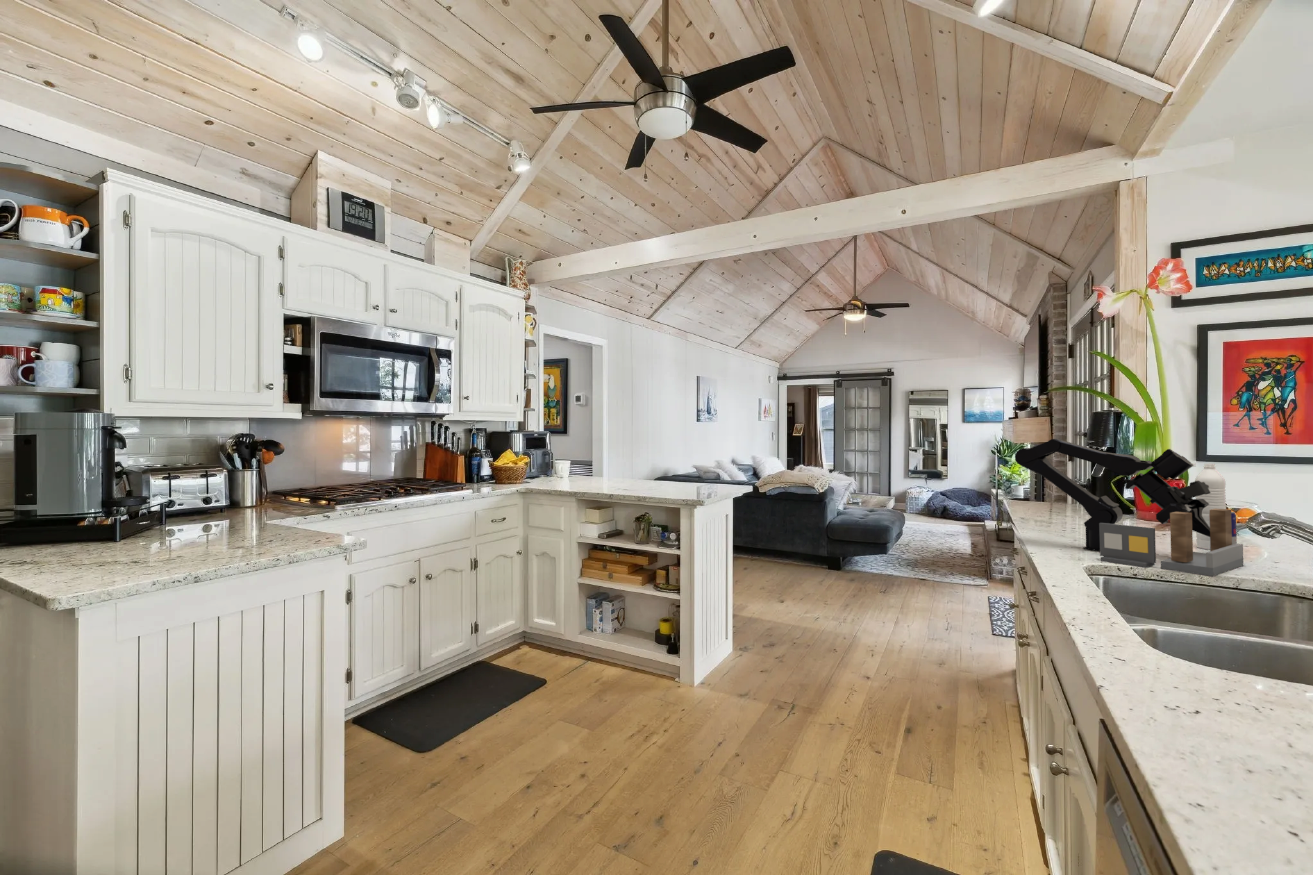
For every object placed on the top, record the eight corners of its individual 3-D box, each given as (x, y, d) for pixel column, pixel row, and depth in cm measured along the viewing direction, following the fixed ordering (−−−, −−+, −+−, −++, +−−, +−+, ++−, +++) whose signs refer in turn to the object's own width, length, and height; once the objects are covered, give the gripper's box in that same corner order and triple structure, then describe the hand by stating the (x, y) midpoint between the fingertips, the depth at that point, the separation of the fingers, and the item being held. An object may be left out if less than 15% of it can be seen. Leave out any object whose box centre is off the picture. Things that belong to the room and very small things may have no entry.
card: (1096, 560, 158) (1095, 523, 158) (1105, 558, 161) (1104, 522, 161) (1150, 568, 148) (1149, 529, 148) (1159, 565, 150) (1158, 527, 150)
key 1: (1171, 560, 146) (1169, 512, 146) (1177, 558, 148) (1176, 511, 148) (1186, 562, 143) (1185, 514, 143) (1193, 560, 145) (1191, 512, 145)
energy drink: (1242, 556, 158) (1241, 513, 158) (1219, 556, 159) (1218, 512, 159) (1227, 552, 163) (1226, 510, 163) (1205, 552, 164) (1204, 510, 164)
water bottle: (1224, 547, 171) (1222, 462, 171) (1229, 551, 165) (1227, 464, 165) (1184, 544, 176) (1182, 462, 176) (1188, 548, 170) (1186, 463, 170)
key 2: (1210, 555, 150) (1209, 509, 150) (1216, 553, 152) (1215, 508, 152) (1226, 557, 147) (1225, 510, 147) (1232, 555, 149) (1231, 509, 149)
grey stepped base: (1160, 568, 147) (1160, 547, 147) (1192, 558, 157) (1192, 538, 157) (1213, 576, 138) (1212, 553, 138) (1243, 565, 148) (1242, 544, 148)
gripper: (1169, 473, 151) (1228, 519, 142) (1198, 469, 160) (1254, 513, 151) (1134, 500, 158) (1187, 547, 148) (1163, 495, 167) (1215, 539, 158)
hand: (1212, 535), depth 151 cm, fingers closed, pressing on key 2
